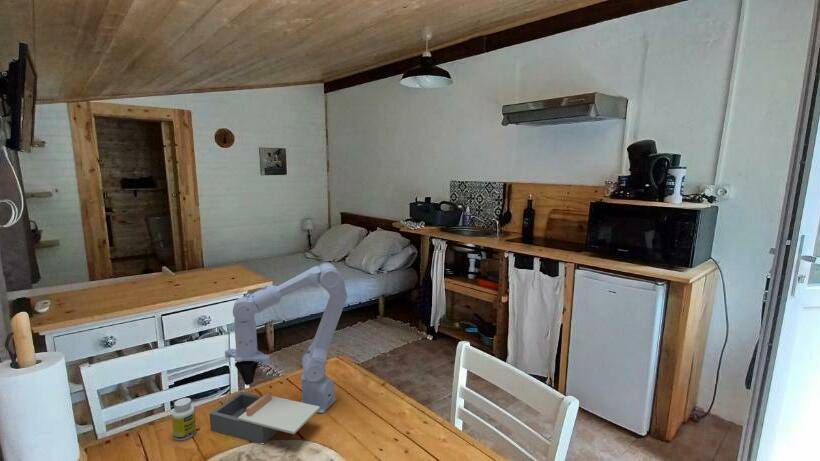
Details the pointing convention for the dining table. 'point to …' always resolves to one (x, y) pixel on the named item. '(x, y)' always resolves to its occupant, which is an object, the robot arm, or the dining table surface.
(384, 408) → the dining table surface
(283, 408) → the lid
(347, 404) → the dining table surface
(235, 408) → the gray open box
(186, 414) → the supplement bottle
